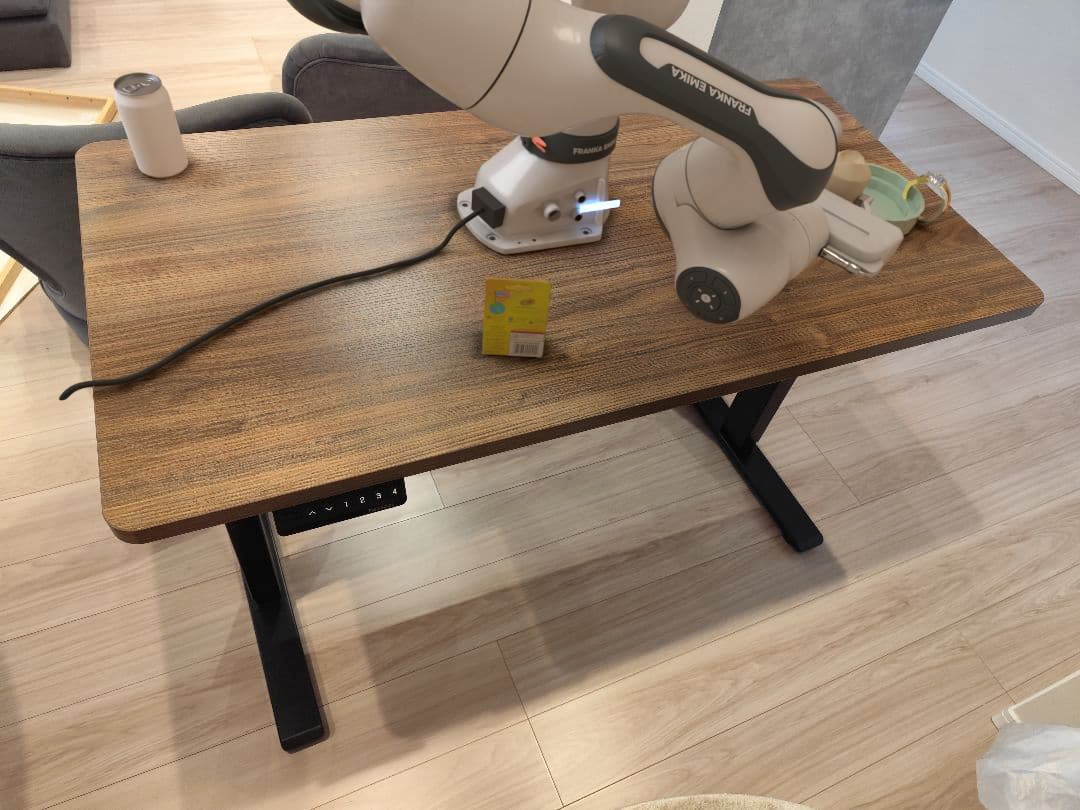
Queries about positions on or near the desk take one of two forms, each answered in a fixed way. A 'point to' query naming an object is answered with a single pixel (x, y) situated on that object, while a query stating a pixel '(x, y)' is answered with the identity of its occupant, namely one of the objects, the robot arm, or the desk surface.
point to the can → (150, 124)
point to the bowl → (893, 198)
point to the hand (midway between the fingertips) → (839, 187)
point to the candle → (849, 175)
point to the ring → (939, 183)
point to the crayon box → (515, 316)
